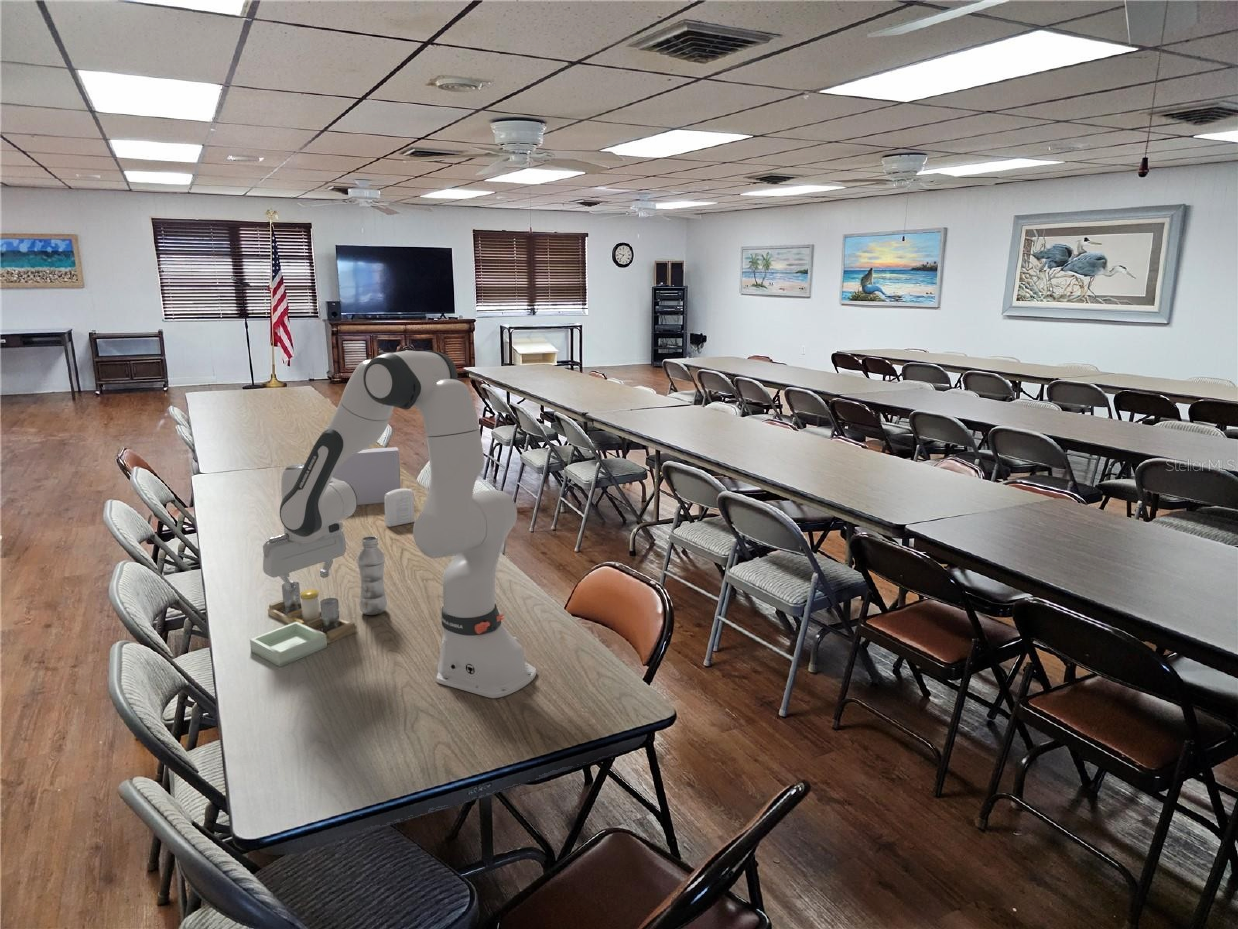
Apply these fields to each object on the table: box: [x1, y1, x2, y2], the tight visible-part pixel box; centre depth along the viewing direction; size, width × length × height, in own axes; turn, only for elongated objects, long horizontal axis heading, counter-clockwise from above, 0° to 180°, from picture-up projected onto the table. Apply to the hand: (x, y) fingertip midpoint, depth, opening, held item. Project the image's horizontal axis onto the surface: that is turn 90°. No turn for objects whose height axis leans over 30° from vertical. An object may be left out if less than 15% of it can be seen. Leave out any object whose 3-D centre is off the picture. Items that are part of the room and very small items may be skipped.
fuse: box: [300, 588, 321, 625], centre depth 185 cm, size 4×4×8 cm
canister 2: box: [319, 597, 340, 634], centre depth 181 cm, size 4×4×8 cm
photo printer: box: [383, 487, 416, 528], centre depth 259 cm, size 10×4×12 cm, turn 134°
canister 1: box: [281, 580, 301, 616], centre depth 190 cm, size 4×4×8 cm
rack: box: [267, 599, 358, 644], centre depth 186 cm, size 25×8×2 cm, turn 55°
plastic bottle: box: [356, 535, 388, 616], centre depth 190 cm, size 6×7×20 cm
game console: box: [333, 446, 402, 506], centre depth 281 cm, size 6×27×20 cm, turn 115°
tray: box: [249, 622, 328, 668], centre depth 173 cm, size 12×12×3 cm
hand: (307, 582), depth 184 cm, fingers open, 8 cm apart
